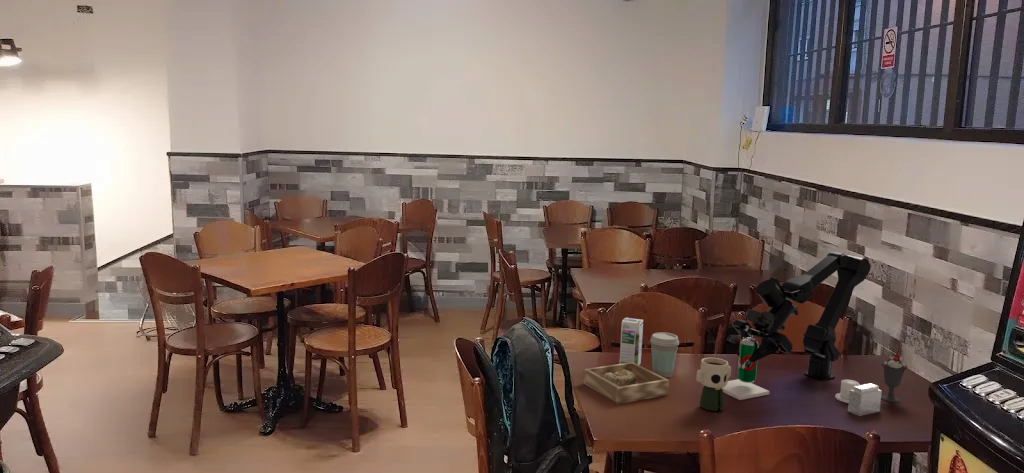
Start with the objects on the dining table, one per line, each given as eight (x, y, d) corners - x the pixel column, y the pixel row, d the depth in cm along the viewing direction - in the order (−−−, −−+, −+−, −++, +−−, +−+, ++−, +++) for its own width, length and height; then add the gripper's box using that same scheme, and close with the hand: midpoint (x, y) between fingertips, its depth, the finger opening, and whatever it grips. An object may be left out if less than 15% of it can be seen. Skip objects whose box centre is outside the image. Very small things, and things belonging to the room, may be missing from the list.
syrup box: (618, 366, 234) (621, 320, 232) (623, 361, 240) (625, 316, 237) (636, 369, 232) (639, 323, 230) (641, 363, 238) (643, 318, 235)
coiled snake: (643, 387, 216) (645, 369, 215) (623, 396, 209) (625, 378, 208) (614, 375, 223) (616, 358, 222) (594, 384, 216) (596, 366, 214)
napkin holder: (867, 407, 207) (870, 382, 206) (879, 411, 204) (882, 386, 202) (847, 411, 203) (850, 386, 202) (859, 416, 200) (861, 390, 199)
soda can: (759, 382, 215) (762, 341, 213) (745, 384, 213) (748, 343, 211) (747, 376, 220) (750, 336, 218) (733, 378, 218) (736, 338, 216)
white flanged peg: (846, 393, 217) (848, 376, 216) (867, 401, 211) (869, 384, 210) (829, 397, 214) (831, 380, 213) (850, 405, 208) (852, 388, 207)
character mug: (703, 415, 197) (706, 367, 195) (686, 406, 203) (689, 359, 201) (736, 410, 201) (740, 363, 199) (719, 401, 208) (723, 355, 206)
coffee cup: (677, 380, 223) (679, 341, 221) (647, 377, 225) (650, 338, 223) (676, 371, 231) (679, 333, 230) (648, 368, 233) (650, 330, 231)
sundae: (893, 405, 208) (899, 352, 206) (872, 397, 214) (877, 345, 212) (909, 401, 211) (915, 349, 209) (887, 393, 217) (893, 343, 215)
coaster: (741, 382, 223) (741, 378, 223) (769, 394, 214) (769, 391, 214) (712, 387, 218) (712, 383, 218) (739, 400, 209) (740, 396, 209)
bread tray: (631, 375, 226) (632, 361, 225) (668, 394, 211) (669, 380, 210) (583, 383, 218) (584, 369, 218) (617, 403, 203) (618, 388, 203)
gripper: (739, 292, 223) (708, 332, 220) (788, 307, 207) (755, 350, 203) (757, 315, 228) (726, 355, 224) (806, 331, 211) (774, 375, 208)
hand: (744, 358), depth 215 cm, fingers closed on soda can, 5 cm apart
